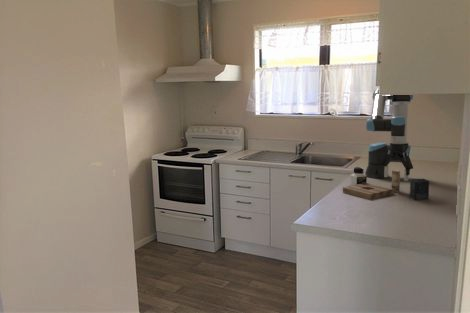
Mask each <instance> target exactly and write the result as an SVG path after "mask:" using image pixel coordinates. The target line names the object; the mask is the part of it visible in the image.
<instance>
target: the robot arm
mask: <svg viewBox="0 0 470 313" xmlns="http://www.w3.org/2000/svg"><path fill="white" fill-rule="evenodd" d="M371 97H372V100H373V101H372V102H373V103H372V108H371V116H370V118H367V119H366V124H365V126H366V127H365V128H366V130H367V132H389V133H390V142H389V144H387V142H376V143H375V142H374V143H371V144H369V146H368V150H367V152H368V155H367V156H368V158H367V167H366V169H365V171H364V175H365V176H367V178H371V179H385V178H388V177H389V164H390V163H401V164H402V166H403V168H404V173H403V174H404V176H403V181H404V182H407V181H409V176H410V172H411V170H413V169H414V165H413V164H412V161H411V159H410V153H411V145H410V143H409V141H407V134H408V130H407V129H408V113H409V112H408V111H409V110H408V109H409V108H408V107H409V104H411V100H414V96H413V95H393V96H382V95H379V89H378V87H376V88H375V90H374V92H373V93H372V96H371ZM389 100H390V101H391V103H392V105H393V116H392V117H391V118H384V117H385V109H386V102H387V101H389Z"/></svg>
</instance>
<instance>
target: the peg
mask: <svg viewBox="0 0 470 313" xmlns="http://www.w3.org/2000/svg"><path fill="white" fill-rule="evenodd" d="M400 181H401V171H400V170H392V171H391V189H394V193H398V192H400V188H401V182H400Z"/></svg>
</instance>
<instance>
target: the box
mask: <svg viewBox="0 0 470 313" xmlns="http://www.w3.org/2000/svg"><path fill="white" fill-rule="evenodd" d="M429 190H430V180H428V179H425V178H413V179H412V178H411V179H410V184H409V198H410V199H412V200H414V201H418V200H419V201H420V200H421V201H422V200H423V201H424V200H429V196H430V194H429V192H430V191H429Z"/></svg>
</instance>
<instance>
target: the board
mask: <svg viewBox="0 0 470 313" xmlns="http://www.w3.org/2000/svg"><path fill="white" fill-rule="evenodd" d="M391 188H392V187H391ZM391 188H390V187H386V186H381V185H377V184H373V183H368V182H367V183H362V184H357V185H352V186H351V185H347V186H343V187H342V193H344V192H345V193H344V194H347V193H348V195H351V194H352V195H353V196H355V197H359V198H363V199H366V200H374V199H378V198H382V197H387V196H391V195H394V194H395V192H394V189H391Z"/></svg>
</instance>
